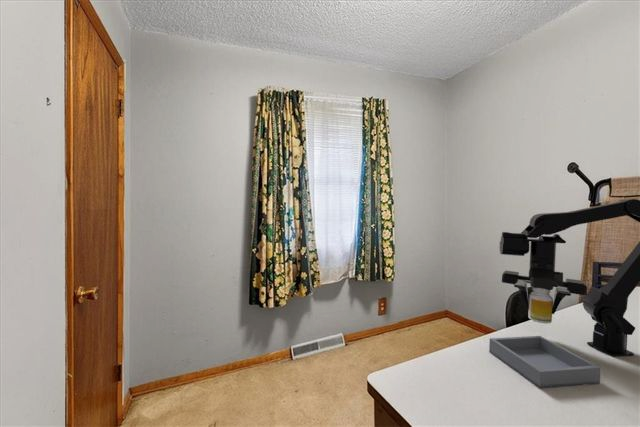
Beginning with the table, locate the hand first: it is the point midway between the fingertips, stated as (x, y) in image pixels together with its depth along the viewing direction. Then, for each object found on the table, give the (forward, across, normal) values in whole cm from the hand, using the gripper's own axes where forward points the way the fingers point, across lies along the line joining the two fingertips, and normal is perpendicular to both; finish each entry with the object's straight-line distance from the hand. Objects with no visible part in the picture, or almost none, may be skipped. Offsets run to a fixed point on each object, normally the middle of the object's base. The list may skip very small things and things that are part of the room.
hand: (540, 311), depth 82 cm
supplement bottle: (+3, 0, 0) cm, 3 cm away
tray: (+8, 0, -18) cm, 20 cm away
